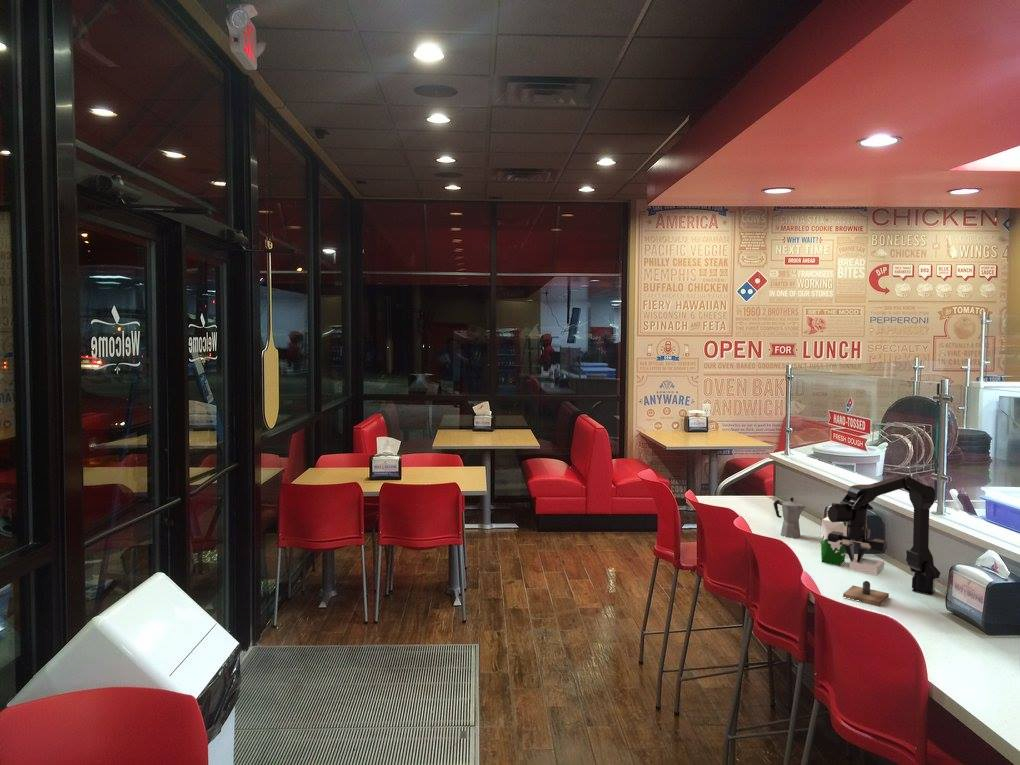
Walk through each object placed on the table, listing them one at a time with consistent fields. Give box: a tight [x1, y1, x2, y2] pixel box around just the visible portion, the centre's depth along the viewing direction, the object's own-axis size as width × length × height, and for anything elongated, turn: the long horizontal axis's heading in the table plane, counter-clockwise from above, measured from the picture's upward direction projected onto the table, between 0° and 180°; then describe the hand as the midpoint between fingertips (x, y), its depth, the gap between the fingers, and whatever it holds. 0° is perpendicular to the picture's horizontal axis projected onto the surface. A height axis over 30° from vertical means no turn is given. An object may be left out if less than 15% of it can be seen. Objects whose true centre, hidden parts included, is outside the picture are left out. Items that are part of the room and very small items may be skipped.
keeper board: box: [842, 580, 890, 607], centre depth 258 cm, size 12×12×6 cm
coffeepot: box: [773, 497, 807, 539], centre depth 341 cm, size 15×9×18 cm, turn 44°
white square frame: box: [849, 555, 885, 576], centre depth 258 cm, size 9×9×3 cm
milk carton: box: [820, 516, 848, 567], centre depth 299 cm, size 9×9×20 cm
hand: (855, 564), depth 261 cm, fingers closed on white square frame
